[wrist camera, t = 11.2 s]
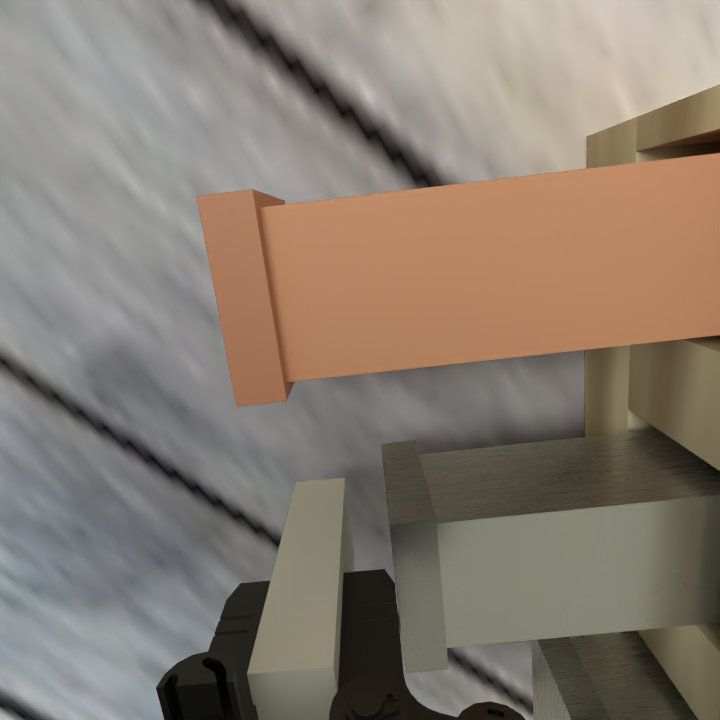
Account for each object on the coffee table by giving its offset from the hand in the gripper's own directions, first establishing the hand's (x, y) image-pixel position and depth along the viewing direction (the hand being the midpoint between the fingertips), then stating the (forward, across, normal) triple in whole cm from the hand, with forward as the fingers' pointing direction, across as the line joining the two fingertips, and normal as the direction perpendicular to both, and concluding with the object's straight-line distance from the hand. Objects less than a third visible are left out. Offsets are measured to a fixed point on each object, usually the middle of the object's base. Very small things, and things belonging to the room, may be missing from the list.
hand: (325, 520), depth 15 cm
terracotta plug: (0, +8, +7) cm, 11 cm away
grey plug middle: (0, +10, 0) cm, 10 cm away
